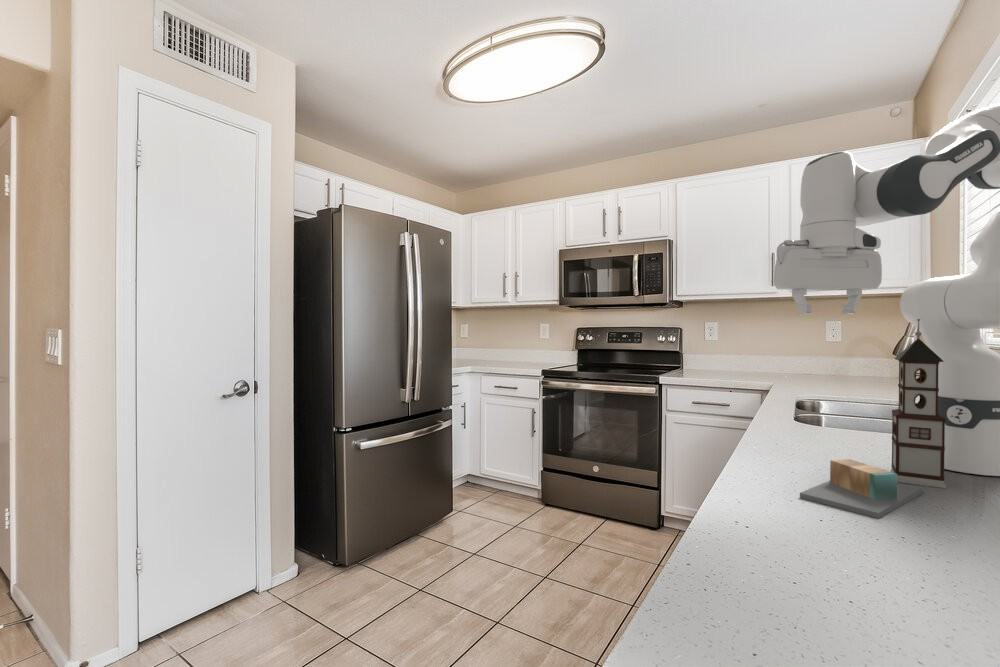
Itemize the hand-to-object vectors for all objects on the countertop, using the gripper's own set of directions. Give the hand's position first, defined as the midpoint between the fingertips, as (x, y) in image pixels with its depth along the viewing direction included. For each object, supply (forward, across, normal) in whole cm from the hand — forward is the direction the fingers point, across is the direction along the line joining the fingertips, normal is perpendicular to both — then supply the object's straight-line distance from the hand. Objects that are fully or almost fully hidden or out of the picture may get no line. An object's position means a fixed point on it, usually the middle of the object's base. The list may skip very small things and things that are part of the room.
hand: (826, 313), depth 95 cm
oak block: (+28, -2, -6) cm, 29 cm away
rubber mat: (+31, -2, -11) cm, 33 cm away
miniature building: (+31, +15, -5) cm, 35 cm away
